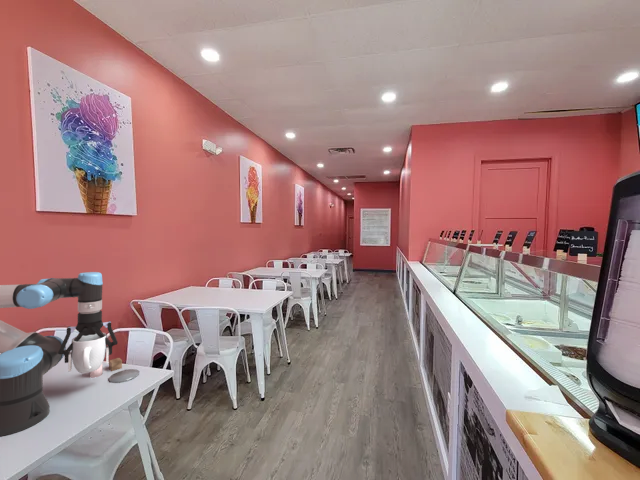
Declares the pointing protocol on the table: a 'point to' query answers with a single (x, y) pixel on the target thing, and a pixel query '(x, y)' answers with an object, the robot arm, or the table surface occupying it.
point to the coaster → (124, 376)
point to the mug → (88, 353)
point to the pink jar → (96, 372)
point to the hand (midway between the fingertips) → (89, 366)
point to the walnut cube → (115, 364)
